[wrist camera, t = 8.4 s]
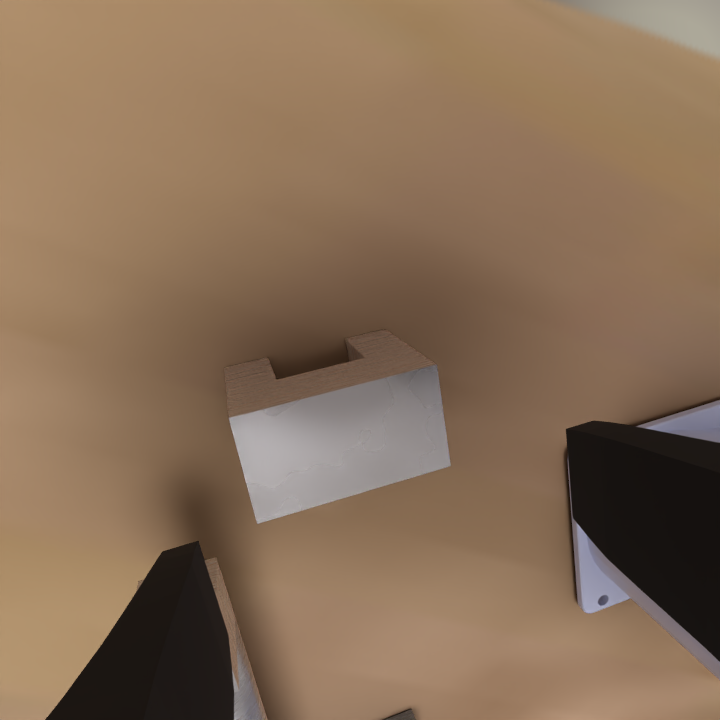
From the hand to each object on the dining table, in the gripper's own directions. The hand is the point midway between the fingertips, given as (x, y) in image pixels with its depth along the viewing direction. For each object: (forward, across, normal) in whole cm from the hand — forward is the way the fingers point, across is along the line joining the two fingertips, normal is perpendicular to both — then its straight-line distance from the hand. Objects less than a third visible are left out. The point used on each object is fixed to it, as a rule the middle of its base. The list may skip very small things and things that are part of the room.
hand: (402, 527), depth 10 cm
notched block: (+9, 0, 0) cm, 9 cm away
